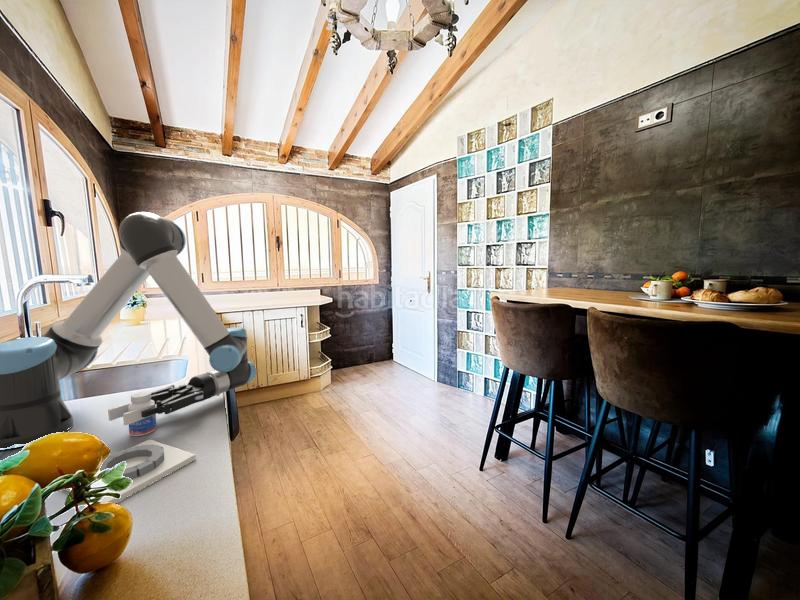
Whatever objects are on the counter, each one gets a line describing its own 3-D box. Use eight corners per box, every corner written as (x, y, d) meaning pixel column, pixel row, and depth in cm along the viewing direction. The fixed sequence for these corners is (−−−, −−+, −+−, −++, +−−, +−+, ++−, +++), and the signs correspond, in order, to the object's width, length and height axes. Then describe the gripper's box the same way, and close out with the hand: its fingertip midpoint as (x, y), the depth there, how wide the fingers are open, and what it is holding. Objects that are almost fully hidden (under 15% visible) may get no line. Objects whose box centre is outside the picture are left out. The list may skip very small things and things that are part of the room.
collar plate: (57, 485, 62) (55, 472, 61) (150, 444, 76) (149, 433, 76) (104, 510, 55) (103, 495, 55) (195, 459, 70) (195, 447, 70)
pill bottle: (126, 439, 78) (123, 400, 78) (132, 429, 83) (129, 392, 82) (155, 433, 81) (152, 395, 80) (158, 424, 86) (155, 388, 85)
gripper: (230, 402, 95) (141, 440, 74) (188, 392, 102) (96, 425, 81) (229, 377, 94) (139, 408, 73) (187, 369, 101) (93, 396, 80)
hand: (116, 417), depth 77 cm, fingers closed on pill bottle, 5 cm apart
